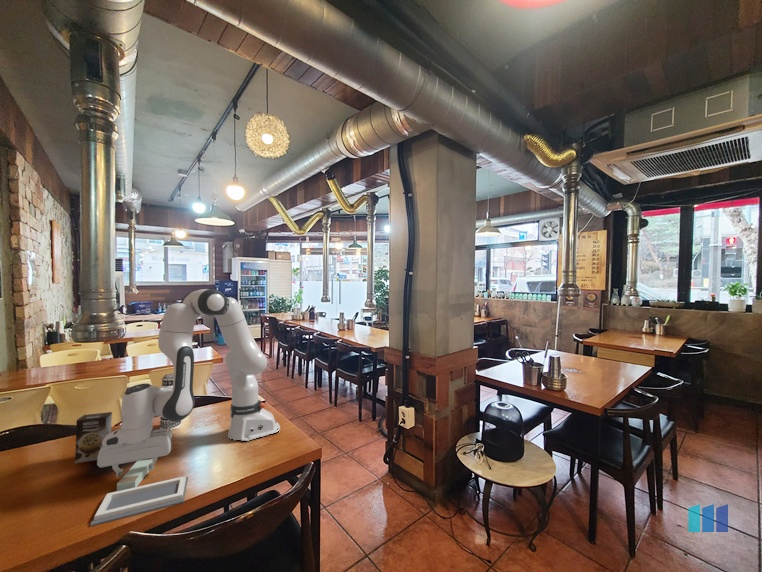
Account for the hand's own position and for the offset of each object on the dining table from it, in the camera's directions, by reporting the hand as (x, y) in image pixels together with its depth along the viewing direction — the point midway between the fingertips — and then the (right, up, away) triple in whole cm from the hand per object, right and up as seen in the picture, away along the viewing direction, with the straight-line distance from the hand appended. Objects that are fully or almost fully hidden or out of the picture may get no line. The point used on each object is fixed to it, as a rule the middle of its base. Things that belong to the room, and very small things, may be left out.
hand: (135, 472), depth 109 cm
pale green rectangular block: (0, -2, 0) cm, 2 cm away
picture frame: (+12, -2, -11) cm, 16 cm away
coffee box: (-27, -2, +13) cm, 30 cm away
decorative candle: (-15, -3, +41) cm, 43 cm away
